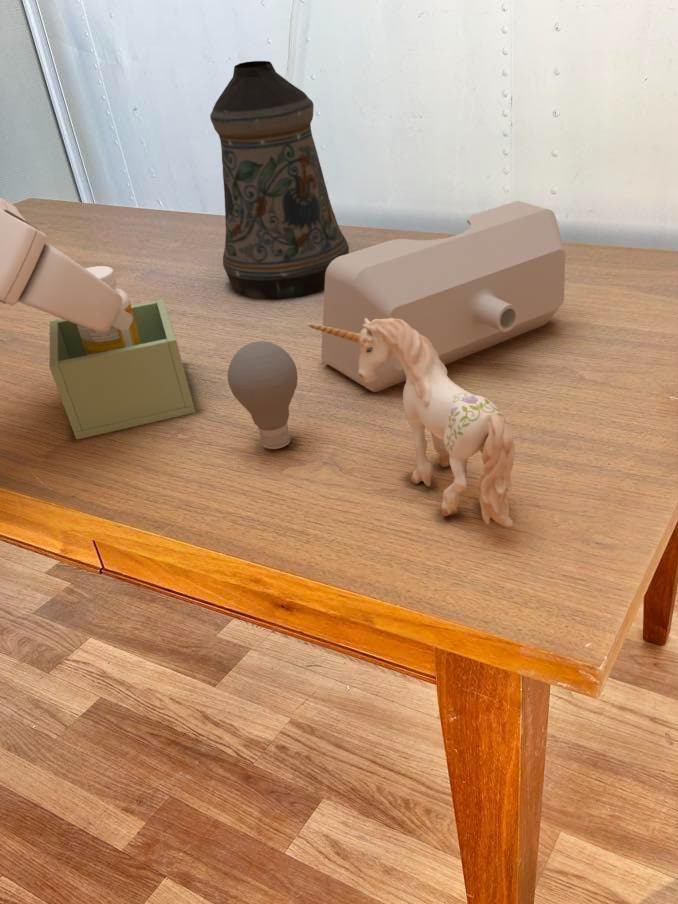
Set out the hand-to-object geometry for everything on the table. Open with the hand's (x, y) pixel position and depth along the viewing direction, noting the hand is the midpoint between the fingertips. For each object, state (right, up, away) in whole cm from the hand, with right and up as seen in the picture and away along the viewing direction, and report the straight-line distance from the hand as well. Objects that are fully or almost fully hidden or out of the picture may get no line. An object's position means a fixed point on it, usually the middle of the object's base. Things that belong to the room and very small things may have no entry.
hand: (110, 314), depth 82 cm
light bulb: (+17, -13, -5) cm, 22 cm away
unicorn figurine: (+30, -19, -13) cm, 38 cm away
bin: (0, -8, +5) cm, 9 cm away
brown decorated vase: (+12, +14, +31) cm, 36 cm away
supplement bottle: (0, -5, +3) cm, 6 cm away
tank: (+34, -2, +8) cm, 35 cm away
